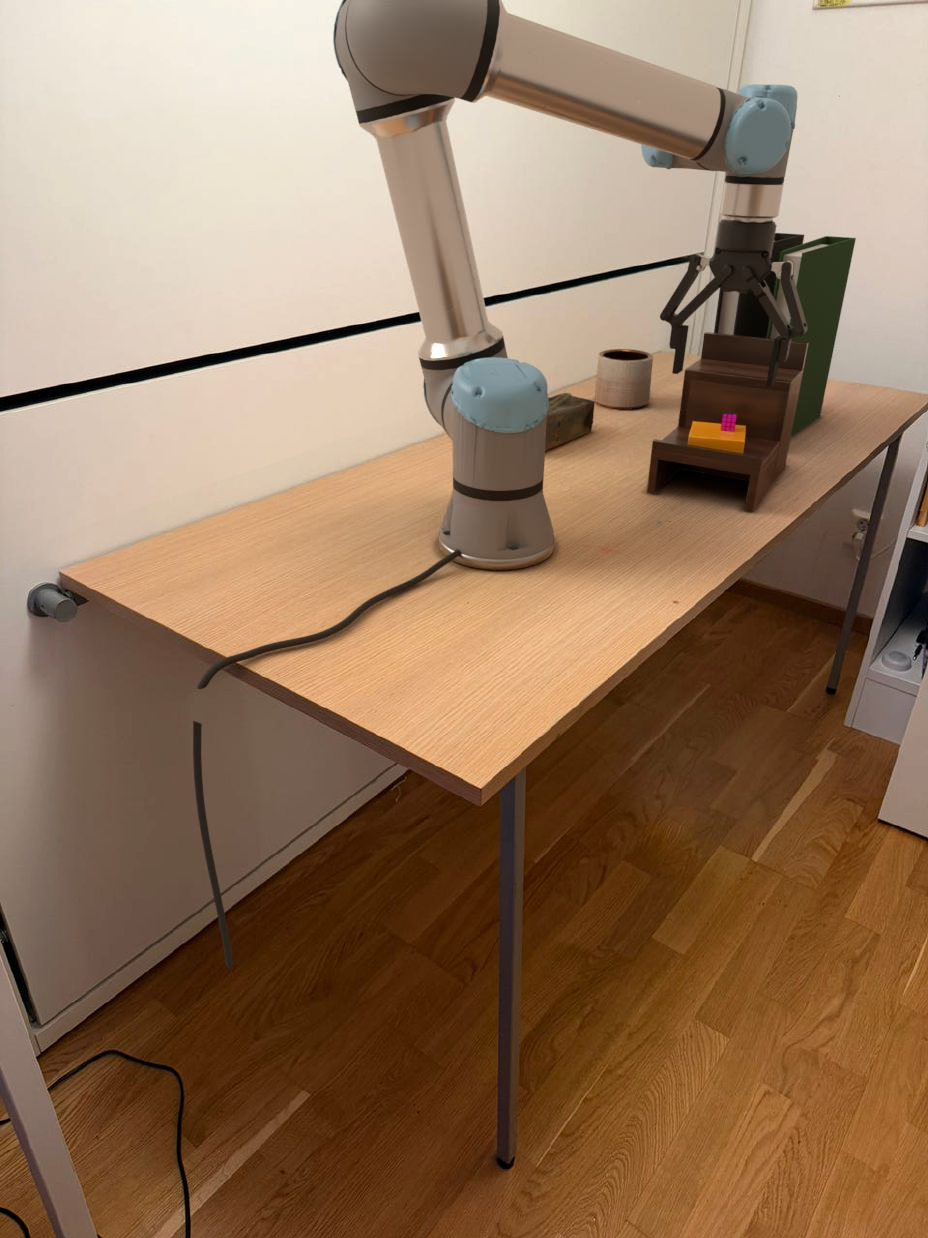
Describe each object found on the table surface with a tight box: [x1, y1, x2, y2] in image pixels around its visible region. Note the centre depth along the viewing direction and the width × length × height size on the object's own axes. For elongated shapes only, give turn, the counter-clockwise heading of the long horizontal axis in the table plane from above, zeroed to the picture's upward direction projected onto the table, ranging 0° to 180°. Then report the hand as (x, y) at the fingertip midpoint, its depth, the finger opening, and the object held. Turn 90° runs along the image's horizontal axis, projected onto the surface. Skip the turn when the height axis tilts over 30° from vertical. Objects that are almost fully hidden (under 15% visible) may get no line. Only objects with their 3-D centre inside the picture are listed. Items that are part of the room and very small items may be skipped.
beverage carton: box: [545, 392, 596, 451], centre depth 157 cm, size 8×19×7 cm, turn 140°
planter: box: [594, 348, 654, 410], centre depth 178 cm, size 11×11×10 cm
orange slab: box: [688, 414, 746, 453], centre depth 134 cm, size 8×8×4 cm
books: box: [713, 232, 856, 438], centre depth 159 cm, size 27×15×32 cm, turn 145°
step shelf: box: [646, 331, 808, 513], centre depth 137 cm, size 23×16×20 cm
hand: (722, 378), depth 130 cm, fingers open, 13 cm apart
